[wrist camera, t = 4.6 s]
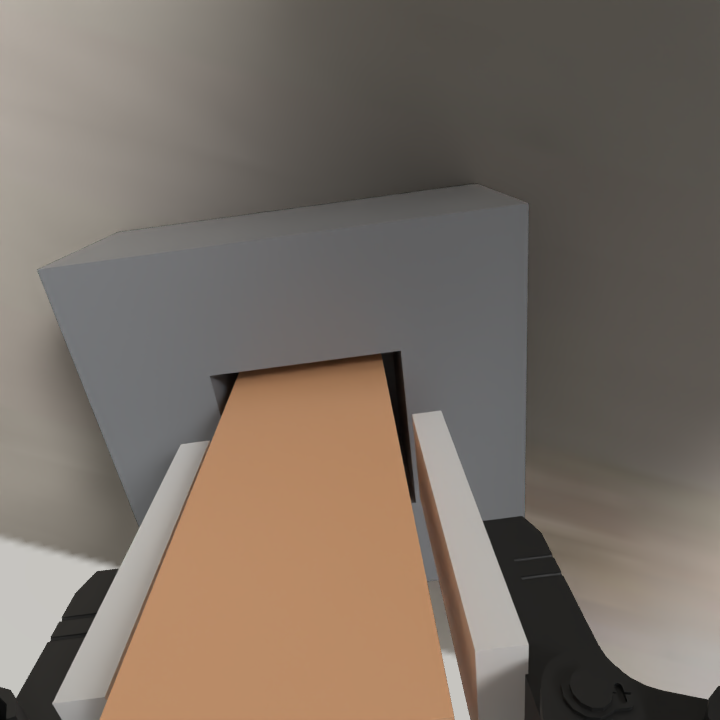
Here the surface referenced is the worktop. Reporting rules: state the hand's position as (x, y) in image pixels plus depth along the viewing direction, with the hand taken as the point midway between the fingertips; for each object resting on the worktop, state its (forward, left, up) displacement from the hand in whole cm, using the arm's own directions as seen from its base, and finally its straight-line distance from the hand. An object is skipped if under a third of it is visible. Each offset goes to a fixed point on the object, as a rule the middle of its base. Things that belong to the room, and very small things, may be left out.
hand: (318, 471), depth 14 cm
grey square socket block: (0, 0, -6) cm, 6 cm away
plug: (0, 0, -5) cm, 5 cm away
